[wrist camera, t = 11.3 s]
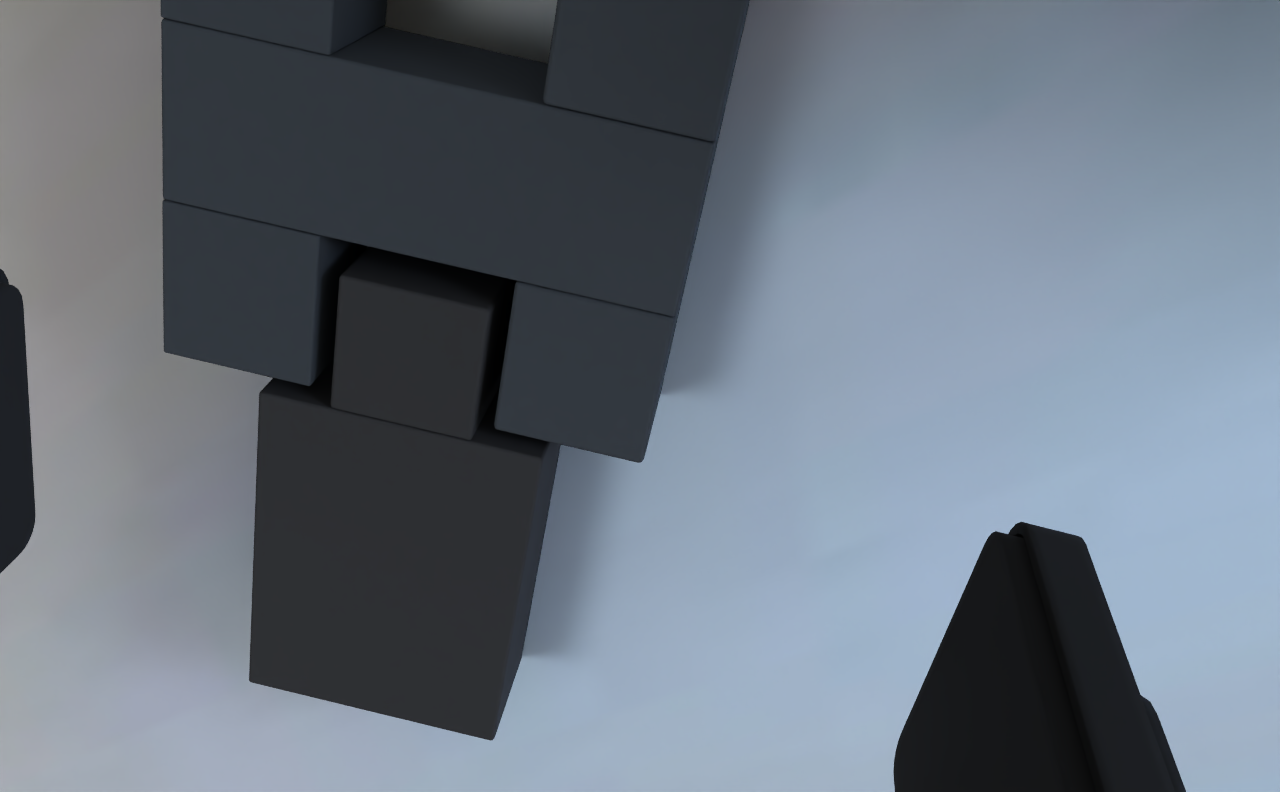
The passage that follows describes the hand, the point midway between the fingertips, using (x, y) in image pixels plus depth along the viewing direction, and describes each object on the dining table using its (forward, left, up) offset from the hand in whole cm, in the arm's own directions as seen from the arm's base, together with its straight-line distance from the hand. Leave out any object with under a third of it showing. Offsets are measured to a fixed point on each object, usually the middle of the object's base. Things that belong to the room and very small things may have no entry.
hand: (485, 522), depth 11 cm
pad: (+9, -4, -14) cm, 17 cm away
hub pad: (+1, -4, -14) cm, 14 cm away
